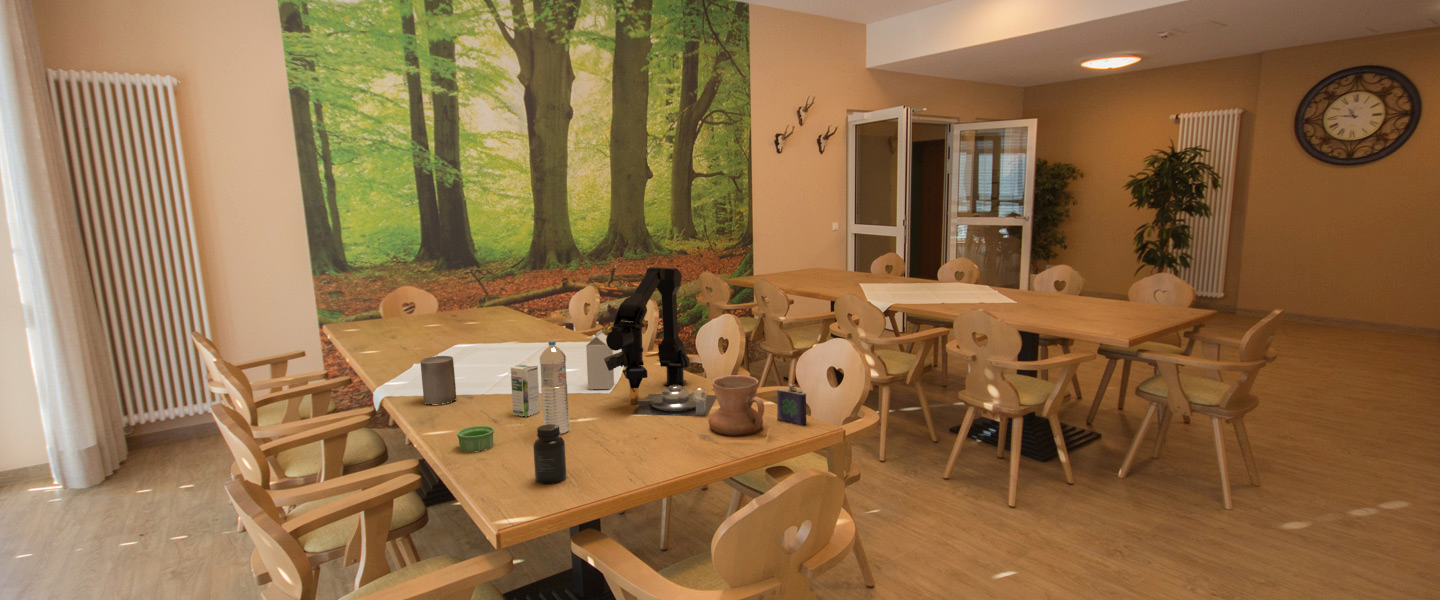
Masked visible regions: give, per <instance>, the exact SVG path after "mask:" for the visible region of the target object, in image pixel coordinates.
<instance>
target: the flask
mask: <svg viewBox="0 0 1440 600" xmlns="http://www.w3.org/2000/svg"><path fill="white" fill-rule="evenodd" d="M795 386H796V384H791V385H788V388H789V389H787V388H778V389H777V390H776V394H777V395H776V397H777V412H776V413H777V416H776V417H777V418H776V419H777V421H778V422H780V423H781V422H783V423H786V424H791V425H796V426H799V427H805V426H807V394H806V392H803V391H802V390H798V389H797V388H795Z"/></svg>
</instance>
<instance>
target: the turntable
mask: <svg viewBox="0 0 1440 600" xmlns="http://www.w3.org/2000/svg"><path fill="white" fill-rule="evenodd" d="M629 396H630V397H629V399H630V400H629V402H630V406H635V407H636V406H639V405H650V406H651V407H652V408H654V409H657V410H662V411H685V410H691V409H695V408H696V402H695V401H694V400H693V398H692V393H689V400H688V401H687V402H684V403H679V404H669V403H665V402H663V401H662V395H659V396H656V397H653V398H652V399H646V400H644V399H639V388H638V387H631V388H630V387H629Z"/></svg>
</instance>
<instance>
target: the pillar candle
mask: <svg viewBox="0 0 1440 600" xmlns="http://www.w3.org/2000/svg"><path fill="white" fill-rule="evenodd" d="M419 363H420V371H421V385H422V393H423V394H422V395H423V403H424V402H425V403H426V404H442V403H447V402H451V401H454V400H455V399H457V391H456V390H457V389H456V377H455V375H456V374H455V364H454V357H453V356H451V355H438V354H437V355H436V356H430V357H426V358H423V359H420V361H419ZM454 402H455V401H454ZM426 404H425V405H426Z"/></svg>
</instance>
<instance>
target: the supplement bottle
mask: <svg viewBox="0 0 1440 600" xmlns="http://www.w3.org/2000/svg"><path fill="white" fill-rule="evenodd" d="M536 431H537V432H536V433H537V434H536V435H537V439H536V440H535V441H534V442H533V460H534V461H533V462H534V463H533V464H534V477H535V478H534V479H535V482H537V483H538V482H539V484H541V483H543V484H542V485H553V484H552V483H554V484H558V483H561V482H563V481H564V480H565V479H566V478H567V461H566V460H567V459H566V444H565V439H564V438H563V437H561V436H560V435H561V434H560V429H559V426H558V425H555V424H548V425H543V424H542V425H540V426H538V427H537V430H536ZM562 480H563V481H562ZM560 481H561V482H560ZM557 482H558V483H557Z"/></svg>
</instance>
